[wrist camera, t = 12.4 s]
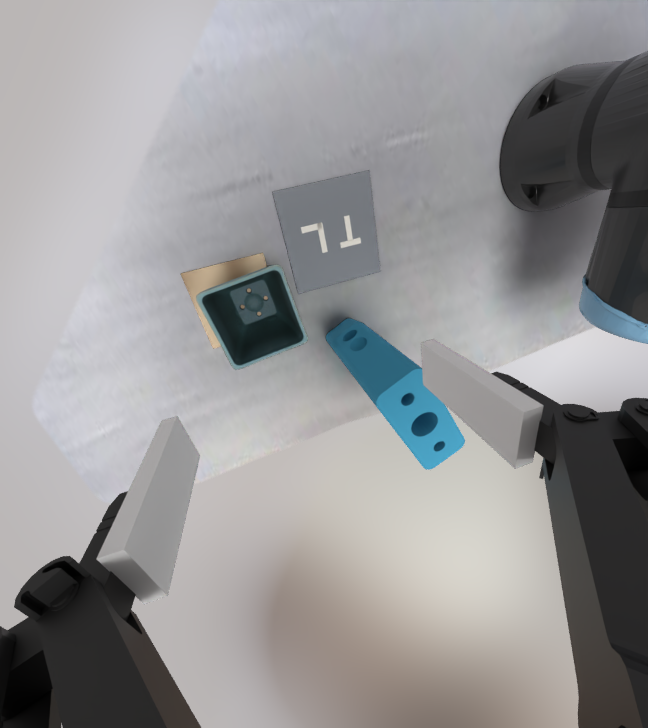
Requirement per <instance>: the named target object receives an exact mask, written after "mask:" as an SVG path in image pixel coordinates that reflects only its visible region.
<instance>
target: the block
mask: <svg viewBox="0 0 648 728" xmlns="http://www.w3.org/2000/svg"><path fill="white" fill-rule="evenodd" d="M326 340H327V342H328V343H329V345H330V346H331V347H332V349H333V350H334V351H335V353H336V354H337V355H338V357H339V358H340V359H341V361H342V362H343V363H344V364H345V366H346V367H347V368H348V370H349V371H350V372H351V374H352V375H353V376H354V378H355V379H356V380H357V382H358V383H359V384H360V386H361V387H362V388H363V389H364V391H365V392H366V393H367V395H368V396H369V397H370V399H371V400H372V401H373V403H374V404H375V405H376V407H377V408H378V409H379V410H380V412H381V413H382V414H383V416H384V417H385V418H386V419H387V421H388V422H389V423H390V425H391V426H392V427H393V429H394V430H395V431H396V432H397V434H398V435H399V436H400V438H401V439H402V440H403V441H404V443H405V444H406V445H407V447H408V448H409V449H410V450H411V452H412V453H413V454H414V456H415V457H416V458H417V460H418V461H419V462H420V464H421V465H422V466H423V467H424V468H425V469H432V468H434V467H436V466H437V465H439V464H440V463H441V462H443V461H444V460H446V459H447V458H448V457H450V456H451V455H452V454H454V453H455V452H456V451H458V450H459V449H460V448H462V446H463V445H464V442H465V440H464V437H463V435H462V434H461V432H460V430H459V429H458V427H457V425H456V423H455V422H454V420H453V418H452V416H451V415H450V413H449V411H448V410H447V408H446V406H445V404H444V403H443V402H441V401H440V400H439V399H438V398H437V397H436V396H435V395H434V394H433V393H432V392H430V391H429V390H428V389H427V388H426V387H425V386H424V385H423V373H422V368H421V367H419V366H418V365H417V364H415V363H414V362H413V361H412V360H410V359H409V358H408V357H406V356H405V355H404V354H402V353H401V352H400V351H399V350H397V349H396V348H395V347H393V346H392V345H391V344H389V343H388V342H387V341H386V340H384V339H383V338H382V337H380V336H379V335H378V334H377V333H375V332H374V331H373V330H371V329H370V328H369V327H367V326H366V325H365V324H364V323H362V322H359V321H356V320H353V319H350V318H348V319H345V320H344V321H343V322H341V323H340V324H339V325H338V326H336V327H335V328H334V329H332V330H331V331H330V332H329V333H328V334H327V335H326Z"/></svg>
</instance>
